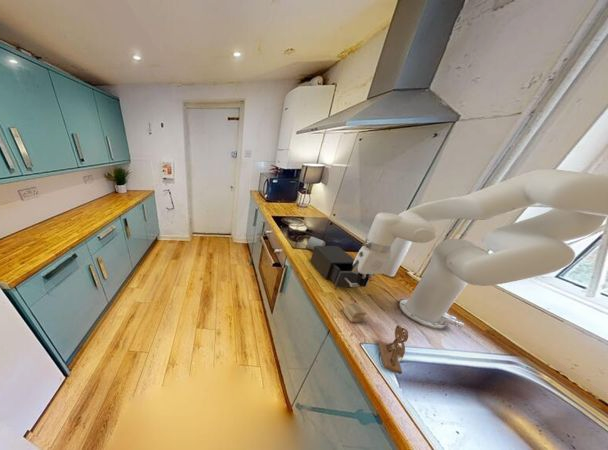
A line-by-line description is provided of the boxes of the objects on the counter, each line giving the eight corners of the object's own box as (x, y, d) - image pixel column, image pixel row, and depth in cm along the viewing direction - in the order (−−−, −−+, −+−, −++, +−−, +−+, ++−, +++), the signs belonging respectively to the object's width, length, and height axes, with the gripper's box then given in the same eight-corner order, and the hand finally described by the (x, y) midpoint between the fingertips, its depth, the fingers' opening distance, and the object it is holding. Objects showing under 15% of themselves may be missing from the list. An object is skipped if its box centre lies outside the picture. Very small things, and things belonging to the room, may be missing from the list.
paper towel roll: (386, 277, 95) (406, 238, 86) (375, 269, 101) (393, 232, 92) (400, 276, 96) (421, 238, 87) (388, 269, 101) (407, 232, 92)
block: (354, 311, 76) (357, 303, 74) (362, 321, 72) (366, 312, 70) (342, 311, 76) (346, 303, 74) (350, 321, 72) (354, 313, 70)
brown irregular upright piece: (401, 374, 56) (421, 347, 51) (384, 367, 57) (402, 340, 52) (392, 347, 63) (409, 321, 58) (377, 342, 65) (392, 316, 60)
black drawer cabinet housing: (351, 279, 93) (358, 262, 89) (325, 279, 93) (331, 262, 89) (332, 261, 107) (338, 245, 103) (310, 261, 106) (314, 245, 102)
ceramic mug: (320, 255, 112) (324, 243, 108) (305, 250, 116) (308, 238, 113) (324, 248, 119) (327, 236, 116) (309, 243, 124) (312, 232, 121)
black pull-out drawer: (369, 295, 83) (376, 280, 80) (343, 295, 82) (349, 280, 79) (340, 268, 100) (345, 255, 96) (319, 268, 99) (323, 255, 96)
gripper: (365, 250, 69) (348, 291, 77) (406, 251, 70) (385, 291, 77) (350, 240, 76) (336, 278, 84) (388, 240, 77) (371, 278, 84)
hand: (360, 284), depth 80 cm, fingers closed
